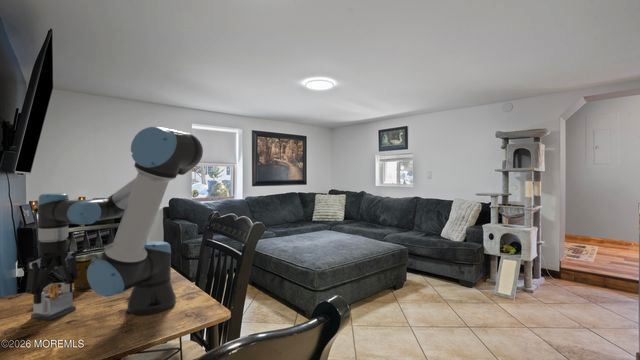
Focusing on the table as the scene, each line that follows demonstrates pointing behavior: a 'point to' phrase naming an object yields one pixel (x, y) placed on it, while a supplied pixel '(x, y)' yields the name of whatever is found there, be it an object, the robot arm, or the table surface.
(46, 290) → the link
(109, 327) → the table surface
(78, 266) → the condiment
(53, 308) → the grey hollow block
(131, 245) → the robot arm
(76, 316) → the table surface
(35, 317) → the keeper
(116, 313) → the table surface
